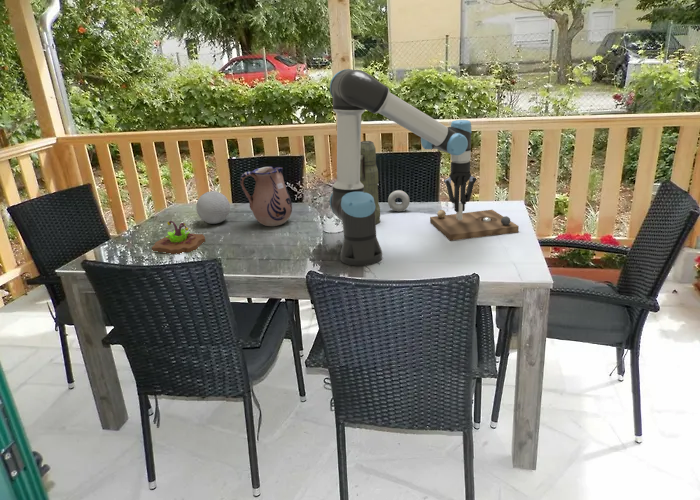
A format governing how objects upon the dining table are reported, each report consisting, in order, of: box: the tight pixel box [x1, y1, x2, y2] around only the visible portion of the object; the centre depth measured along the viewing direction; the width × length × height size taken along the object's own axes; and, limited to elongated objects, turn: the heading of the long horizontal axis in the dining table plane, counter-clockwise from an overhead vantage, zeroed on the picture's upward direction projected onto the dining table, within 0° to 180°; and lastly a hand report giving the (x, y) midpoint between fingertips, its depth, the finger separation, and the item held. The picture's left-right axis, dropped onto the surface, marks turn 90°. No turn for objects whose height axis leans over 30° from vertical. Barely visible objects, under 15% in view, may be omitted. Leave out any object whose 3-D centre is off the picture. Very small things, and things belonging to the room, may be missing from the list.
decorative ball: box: [196, 190, 231, 225], centre depth 239 cm, size 15×15×15 cm
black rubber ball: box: [501, 216, 511, 225], centre depth 204 cm, size 4×4×4 cm
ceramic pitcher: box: [239, 166, 293, 227], centre depth 230 cm, size 18×21×25 cm
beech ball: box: [436, 209, 447, 218], centre depth 218 cm, size 4×4×4 cm
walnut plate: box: [429, 209, 520, 242], centre depth 212 cm, size 28×24×2 cm
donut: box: [387, 189, 410, 212], centre depth 238 cm, size 10×4×10 cm, turn 77°
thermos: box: [360, 140, 381, 225], centre depth 221 cm, size 9×12×35 cm
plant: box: [151, 220, 206, 255], centre depth 214 cm, size 20×20×11 cm
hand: (459, 219), depth 211 cm, fingers closed
